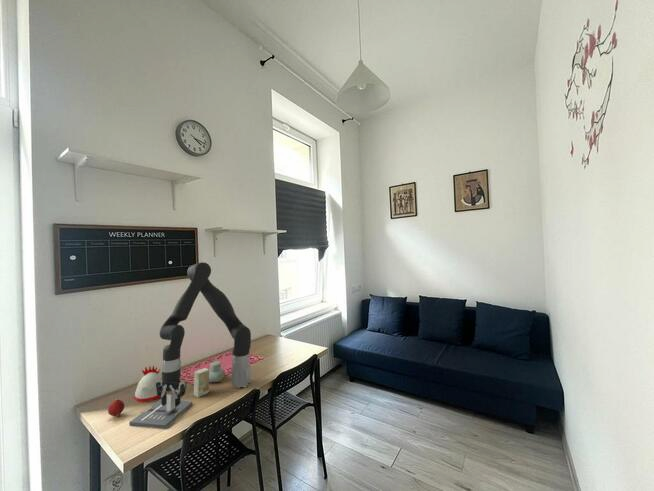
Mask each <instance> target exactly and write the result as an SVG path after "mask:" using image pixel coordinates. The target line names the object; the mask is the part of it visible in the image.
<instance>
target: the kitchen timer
mask: <svg viewBox="0 0 654 491" xmlns="http://www.w3.org/2000/svg"><path fill="white" fill-rule="evenodd" d="M141 372H142V374H143V376H142V377H141V379H140V380H139V381H138V382H137V385H136V390H135V393H134V400H135V401H136V402H139V403H147V402H151V401H155V400H158V399H159V398H160V399H161V396H157V389H156V383H157V382H159V381H160V380H161V381H162V373H160V372H161V368H159V369H158V366H157V367H155V366H154V365H153V366H152V367H151V365H150V366H149V367H148V368H147V366H145V368H144V370H143V369H141ZM163 388H164V387H163Z"/></svg>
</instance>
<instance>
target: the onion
mask: <svg viewBox="0 0 654 491" xmlns="http://www.w3.org/2000/svg"><path fill="white" fill-rule="evenodd" d="M124 409H125V403H124V401H123V400H121V399H118V398H115V399H114V400H113V402H112V403H110V404H109V406H108V409H107V413H108V415H110V416H112V417H114V418H116V417H118V416H119V415H120V414H122V413H123V411H124Z"/></svg>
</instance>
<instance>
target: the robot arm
mask: <svg viewBox="0 0 654 491" xmlns="http://www.w3.org/2000/svg"><path fill="white" fill-rule="evenodd" d="M186 273H187V277H188V278H189V280H190V283H189V285H188V286H187V288H186V290H184V292H183V294H182V295H181V296H180V297H179V299H178V300H177V302H176V303H175V306H174V309H173V311H172V313H171V314H170V315H169V316H168V318H167V319H166V320H165V322H163V324H162V326H161V327H160V329H159V337H160V338H161V339H162V340H166V341H170V343H169V344H167V345H165V346H164V347H163V349H162V363H161V375H162V381H161V380H160V381H159V382H157V383H156V389H157V396H161V397H160V399H162V400H161V403H162V406H164V405H166V404H167V393H168V392H170V391H171V392H172V393H173V394H174V396H175V407H177V406H178V405H179V404H180V401H181V399H182V397H183V396H184V395H185V394H186V389H187V381H184V382H181V375H182V374H181V371H182V359H181V347H182V344H183V341H184V338H185V333H186V332H185V328H184V326H183V325H181V324H179V323H180V322H184V321H186V320H187V319H188V317H189V315H190V313H191V311H192V308H193V306H194V304H195V302H196V299H197V297H198V296H199V294H200V293H201V294H202V296H203V298H204V299H205V300H206V302H207V303H208V304H209V306H210V308H212V311H213V312H214V313H215V314H216V316H217V317H218V319H220V320H221V321H222V322H223V323H224V325H225V326H226V328H227V330H228V332H229V333H230V337H231V338H232V339H233V349H232V351H231V353H232V354H231V359H232V360H231V361H232V362H231V387H232V386H233V387H243V386H246V385H247V384H248V383H249V381H250V382H251V365H250V350H251V342H252V332H251V329H250V328H249V327H247V326H246V325H245V324H244V323H243V322H242V321H241V320H240V319H239V318H238V316H237V314H236V313H235V310H234V307H233V305H232V303H231V302H230V300H229V298H228V297H227V296H226V294H225V293H224V292H223V291H221V290H220V289H219V288H218V287H216V286H215V285H214V284H213V283H212V282H211V281H210V280H209V277H210V276H211V273H212V267H211V266H210V265H209V263H207V262H198V263H195V264H192V265H190V266H189V267H188V269H187V272H186ZM249 384H250V383H249ZM249 384H248V385H249ZM163 387H164V388H163ZM233 387H232V388H233Z"/></svg>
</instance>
